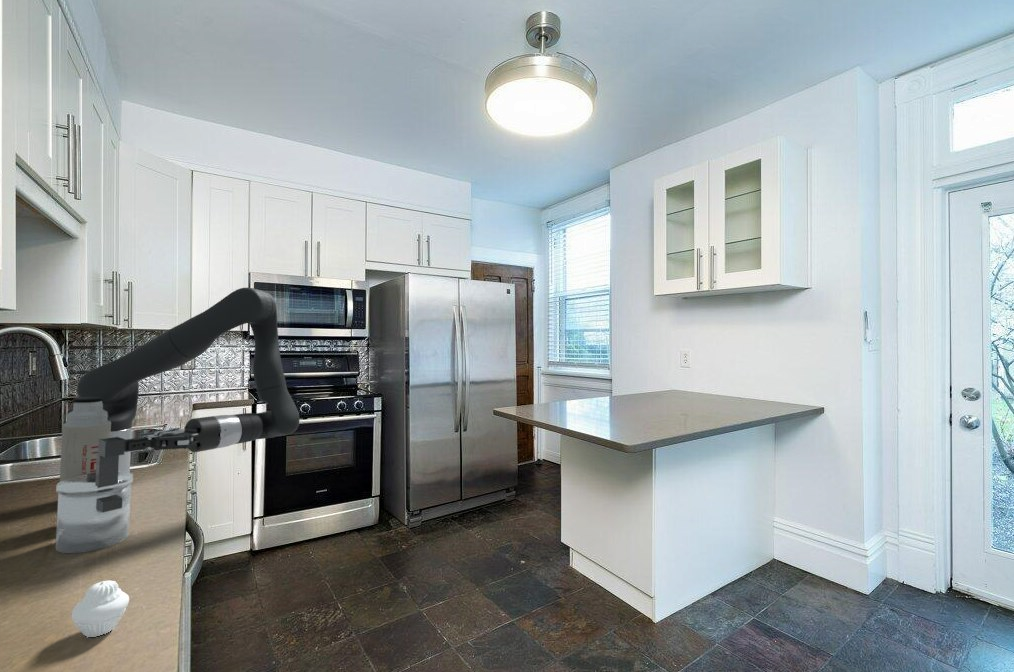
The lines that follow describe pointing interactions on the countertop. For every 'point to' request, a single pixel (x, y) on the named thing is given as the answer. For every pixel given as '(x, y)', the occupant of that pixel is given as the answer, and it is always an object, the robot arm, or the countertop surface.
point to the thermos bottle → (83, 437)
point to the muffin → (100, 609)
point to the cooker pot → (92, 520)
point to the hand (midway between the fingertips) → (122, 446)
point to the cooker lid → (100, 471)
